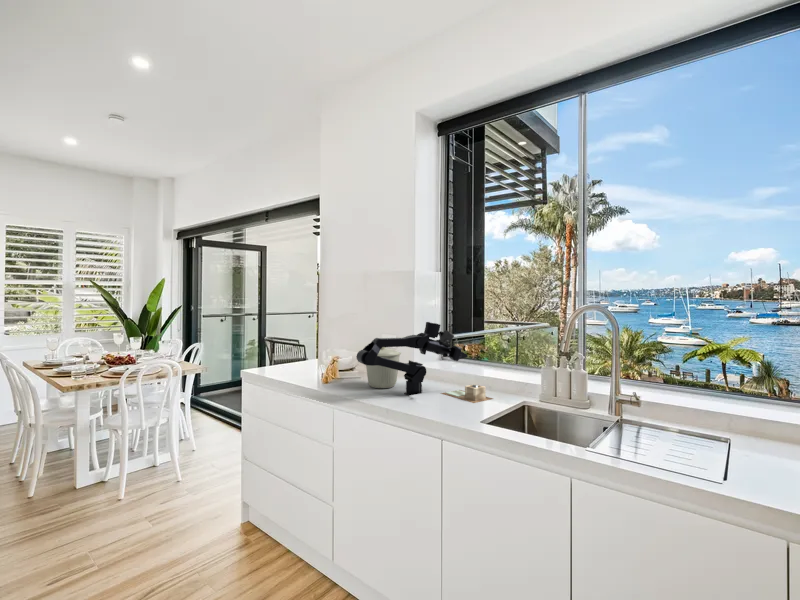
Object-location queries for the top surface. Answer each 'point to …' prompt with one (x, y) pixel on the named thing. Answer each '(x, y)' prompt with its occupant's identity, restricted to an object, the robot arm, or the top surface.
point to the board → (463, 396)
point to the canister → (383, 370)
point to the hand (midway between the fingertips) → (461, 353)
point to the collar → (475, 392)
